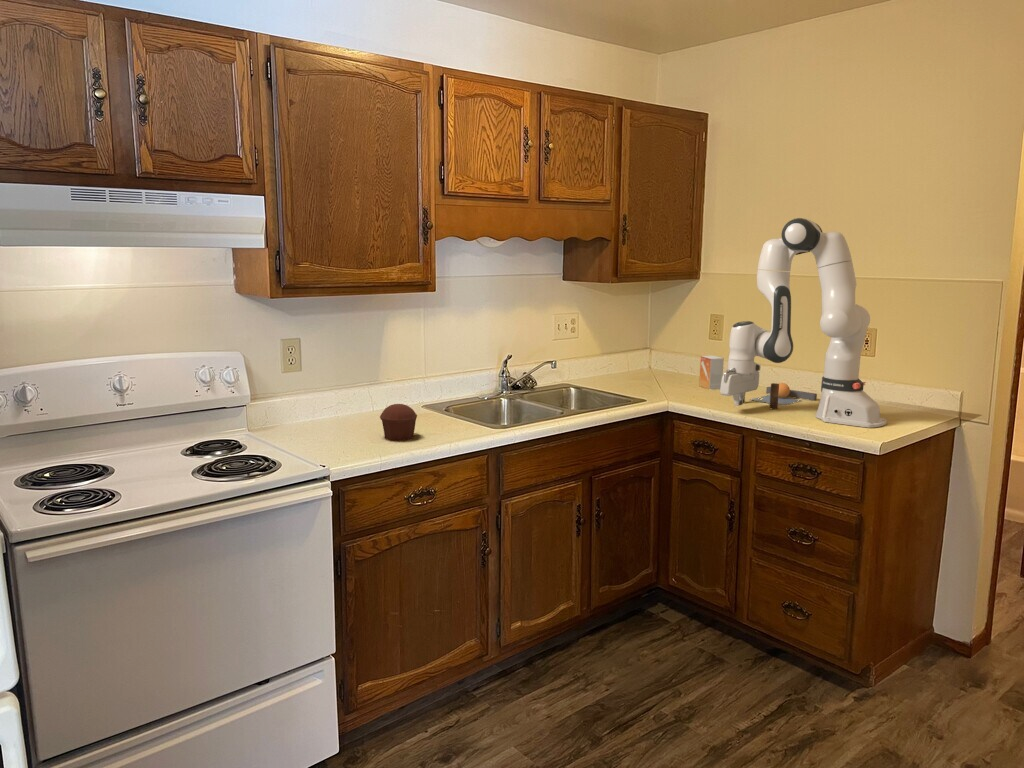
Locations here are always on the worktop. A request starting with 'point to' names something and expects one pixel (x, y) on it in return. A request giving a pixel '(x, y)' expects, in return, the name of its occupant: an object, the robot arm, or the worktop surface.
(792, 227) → the robot arm
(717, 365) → the small box
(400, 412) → the muffin
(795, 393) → the wall
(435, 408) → the worktop surface
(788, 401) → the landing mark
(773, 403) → the post
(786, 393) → the ball
